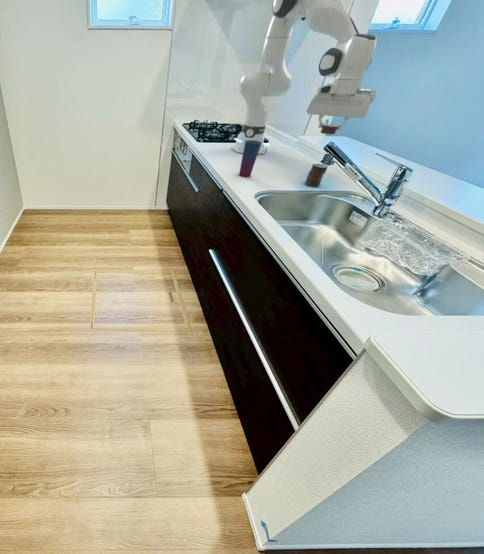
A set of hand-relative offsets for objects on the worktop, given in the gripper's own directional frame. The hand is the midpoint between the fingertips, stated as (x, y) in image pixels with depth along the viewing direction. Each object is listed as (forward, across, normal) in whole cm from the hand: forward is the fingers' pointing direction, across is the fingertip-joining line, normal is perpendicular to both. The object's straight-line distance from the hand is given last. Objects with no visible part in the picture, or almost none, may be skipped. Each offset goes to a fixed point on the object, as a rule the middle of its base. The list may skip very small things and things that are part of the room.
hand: (329, 128), depth 121 cm
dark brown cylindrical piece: (+22, -2, +3) cm, 22 cm away
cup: (+22, +26, +8) cm, 35 cm away
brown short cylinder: (+2, 0, 0) cm, 2 cm away
